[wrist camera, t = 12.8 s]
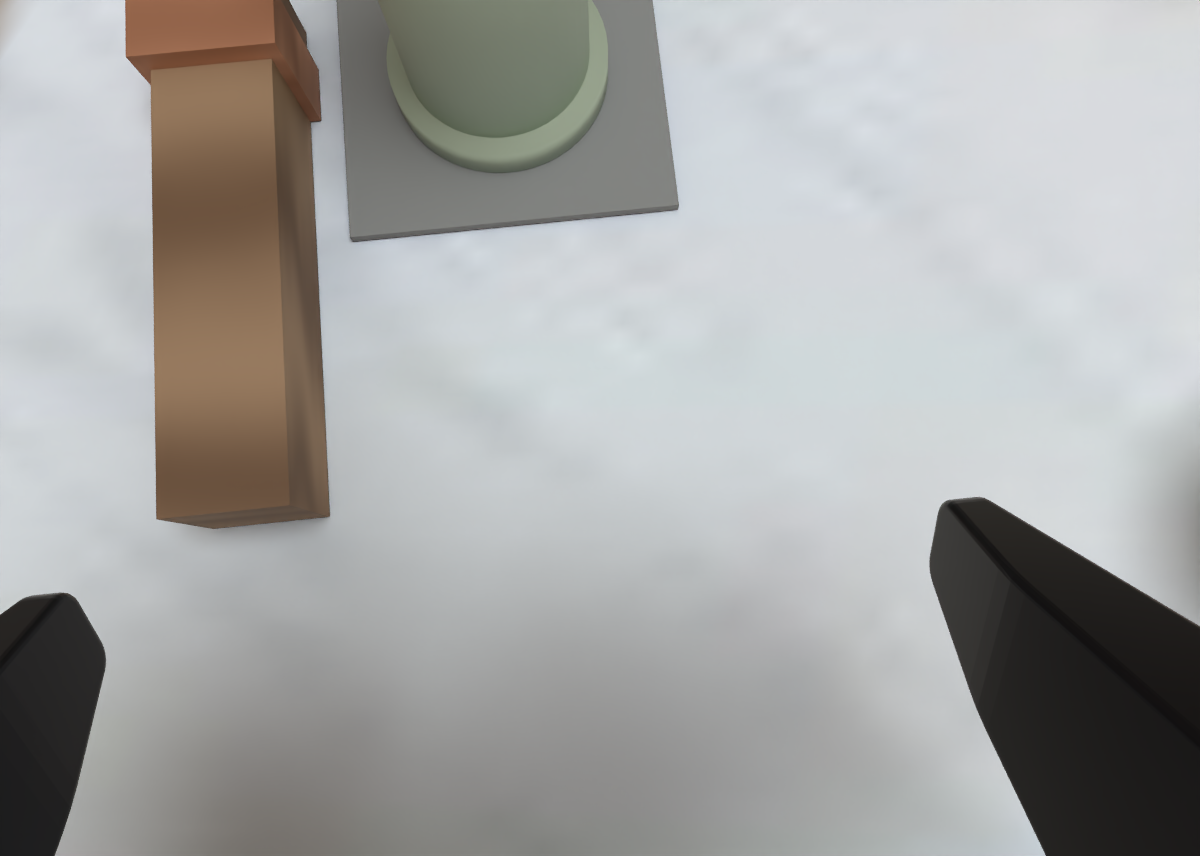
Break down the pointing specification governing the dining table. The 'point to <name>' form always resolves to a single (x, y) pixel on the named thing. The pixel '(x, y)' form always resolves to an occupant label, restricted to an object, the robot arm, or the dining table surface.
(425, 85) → the sage green knob
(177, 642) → the dining table surface
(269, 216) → the post
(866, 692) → the dining table surface
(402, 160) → the slate pad
